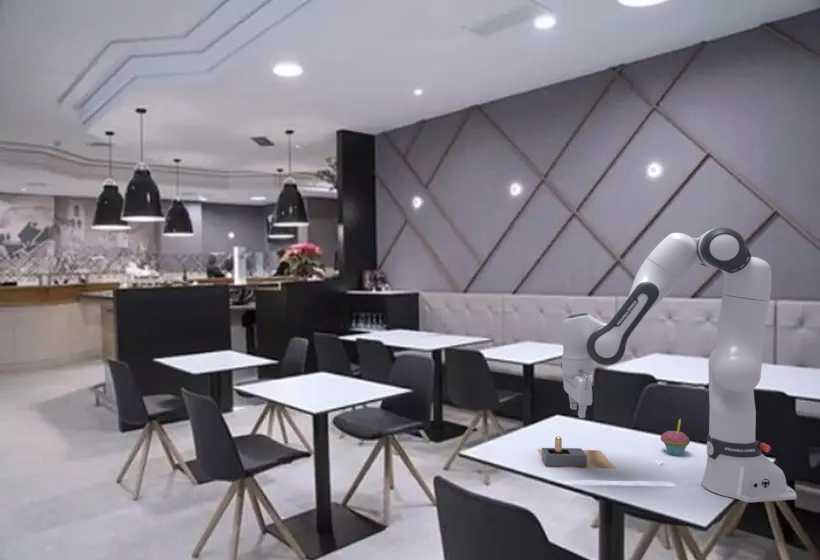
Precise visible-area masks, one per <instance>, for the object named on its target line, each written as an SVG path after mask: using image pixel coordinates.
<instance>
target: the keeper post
mask: <svg viewBox="0 0 820 560" xmlns="http://www.w3.org/2000/svg"><path fill="white" fill-rule="evenodd" d="M562 440H563V438H562V437H561V436H555V438H554V448H555V454H562V448H563V441H562Z"/></svg>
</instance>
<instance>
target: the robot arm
mask: <svg viewBox="0 0 820 560" xmlns="http://www.w3.org/2000/svg"><path fill="white" fill-rule="evenodd" d="M749 249H750V248H749V247H748V245H747V242H746V241H745V239H744V237H743V236H742V235H741V233H739V232H738V231H737V230H735V229H733V228H730V227H718V228H717V227H716V228H712V229H710V230H708V231H706V232H704V233H703V234H701V235H699V236H697V237H692V236H689V235H688V234H685V233H682V232H673V233H669V234H668V235H667V236H665V237H664V239H663V240H661V241H660V242H659V243H658V244H657V245H656V247H655V248H654V249H652V251H651V252H650V253H649V254H648V255H647V257H646V258H645V260H644V261H643V262H642V264H641V265H640V267H639V269H638V271H637V273H636V275H635V277H634V278H633V281H632V282H633V283H632V285H631V289H630V292H629V294H628V296H627V298H626V299H625V301H624V303H622V305H621V307H619V309H618V310H617V312H616V313H615V315H614V316H613V317H612V318H611V320H610V321H609V322H608V323H606V322H603V321H600V320H599V319H597V318H595V317H594V316H592V315H591V314H590V313H586V312H584V313H582V312H581V313H574V314H571V315H569V316H567V317H565V318H564V320H563V322H562V329H561V345H562V349H563V351H562V355H561V361H560V369H561V372H562V382H563V389H564V391H565V392H566V394H568V399H569V407H570V408H569V409H571V410H577V409H578V410H577V416H578V418H579V419H585V418H586V411H587V409H588V406H592V403H593V387H592V380H591V379H590V377H589V376H592V375H593V373H594V371H593V370H594V369H593V364H594V362H595V363H597V364H599V365H602V366H611V365H615V364H616V363H618V362H619V361H620V360H622V359H623V356H624V354H625V352H626V346H627V341H628V339H629V338H630V336H631V335H632V333H633V332H634V331H635V329H636V328H637V326H638V325H639V324H640V322H641V321H642V320H643V319H644V317H645V316H646V315H647V313H649V311H651V310H652V309H653V308H654V307H655V306H657V304H659V303H660V302H661V301H663V299H665V298H666V297H667V296H668V295H669V294H670V293H672V291H673V290H674V289H676V287H677V286H678V285H679V284H680V283H681V282H682V280H683V279H684V277H685V276H686V275H687V274H688V273H689V271H690V270H692V268H694V267H695V266H697V265H701V266H704V267H707V268H711V269H713V270H714V269H716V270H720V271H721V272H722V273H723V276H724V286H723V292H722V298H721V303H720V308H719V312H718V313H719V315H718V320H717V332H716V334H717V335H716V345H715V349H713V350H712V352H711V353H710V354H709V357H708V363H707V365H708V397H709V398H708V400H709V402H708V403H709V418H708V419H709V421H708V422H709V423H708V424H709V427H708V429H709V430H708V433H707V437H706V438H707V439H706V455H707V458H706V464H705V465H706V467H705V470H704V474H703V478H702V481H701V485H702V486H703V488H705V490H708V491H710V492H712V493H715V494H717V495H720V496H724V497H728V498H732V499H736V500H739V501H742V502H745V503H759V502H760V503H762V502H776V501H777V502H778V501H788V500H789V501H792V500H797V499H798V498H797V497H798V496H797V493H796V491H795V490H794V489H793V488H792V487H791V486H789V485H787V480H786V476H785V473H784V471H783V470H782V468H780V467H779V466H778V465H776V464H775V463H774V462H773V461H771V460H770V459H769V458H768V457H766V456H765V455H764V454H763V453H762V451H763V452H765V453H769V452H770V451H771V446H770V445H769V444H768V443H767V444H766V442H761V441H759V440H757V439H756V424H757V423H756V420H757V419H756V417H757V416H756V415H757V411H756V403H755V402H756V401H755V391H754V390H755V388H756V387H757V386H758V384H759V383H760V380H761V377H762V376H761V375H762V366H763V357H764V356H763V355H764V345H765V344H764V341H765V340H764V339H765V329H766V322H767V317H768V311H769V305H770V300H771V293H772V268H771V265H770V263H768V262H767V261H766V260H765V259H762V258H760V257H756V256H752V254H751V252H750V250H749Z"/></svg>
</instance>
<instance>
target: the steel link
mask: <svg viewBox="0 0 820 560" xmlns="http://www.w3.org/2000/svg"><path fill="white" fill-rule="evenodd" d="M541 449H542V457H541V460H542V462H543V464H544V466H545V467H547V466H551V467H550V468H552V467H587V455H586V454H585V453H584V451H583V450H584V449H582V448H579V447H577V448H575V447H573V448H572V447H569V448H568V447H562V454H555V447H541Z"/></svg>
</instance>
